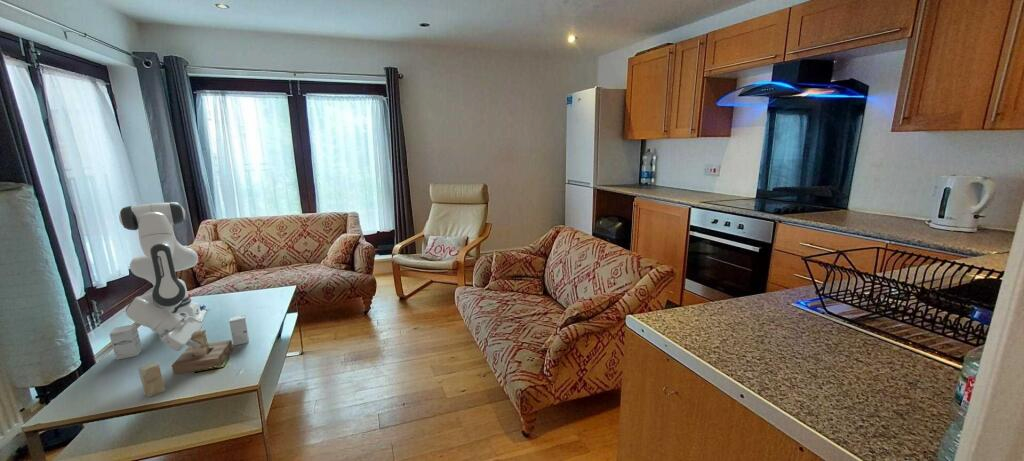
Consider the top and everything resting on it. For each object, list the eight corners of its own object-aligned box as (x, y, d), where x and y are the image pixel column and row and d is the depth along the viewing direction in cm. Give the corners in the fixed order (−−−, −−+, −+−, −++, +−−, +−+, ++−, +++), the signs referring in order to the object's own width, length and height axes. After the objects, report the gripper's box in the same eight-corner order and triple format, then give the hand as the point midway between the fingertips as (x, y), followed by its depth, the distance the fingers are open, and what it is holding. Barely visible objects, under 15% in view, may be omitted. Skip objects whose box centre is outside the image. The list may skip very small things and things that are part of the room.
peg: (199, 356, 175) (193, 331, 172) (211, 354, 176) (205, 329, 173) (194, 362, 171) (188, 335, 168) (207, 360, 172) (201, 334, 169)
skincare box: (233, 346, 185) (228, 321, 183) (234, 342, 189) (228, 317, 186) (249, 342, 188) (244, 318, 186) (249, 338, 192) (244, 314, 189)
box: (148, 397, 150) (141, 370, 147) (144, 394, 152) (136, 367, 149) (166, 390, 154) (159, 363, 151) (161, 386, 156) (154, 360, 154)
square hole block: (191, 354, 179) (189, 346, 178) (233, 348, 184) (231, 339, 183) (173, 374, 164) (171, 365, 163) (219, 366, 169) (217, 357, 168)
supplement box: (115, 360, 176) (108, 334, 173) (121, 353, 183) (114, 327, 180) (137, 356, 180) (130, 329, 177) (143, 348, 186) (136, 323, 183)
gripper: (162, 331, 158) (197, 349, 163) (186, 310, 177) (217, 327, 182) (151, 343, 158) (186, 361, 163) (176, 321, 177) (207, 338, 182)
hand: (203, 343), depth 172 cm, fingers closed on peg, 4 cm apart
